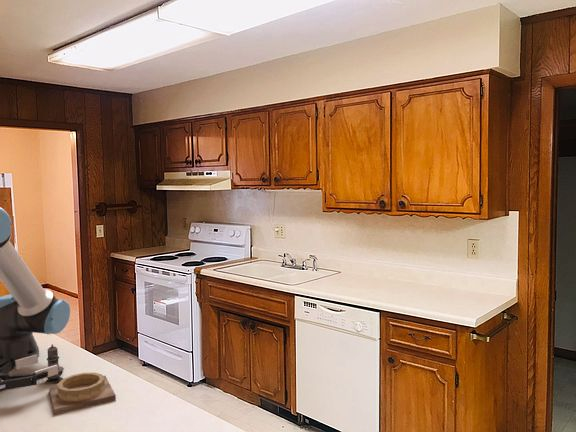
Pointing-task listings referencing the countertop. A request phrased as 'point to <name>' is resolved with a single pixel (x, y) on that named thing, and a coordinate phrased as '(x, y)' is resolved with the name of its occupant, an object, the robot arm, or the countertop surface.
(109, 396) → the collar stand
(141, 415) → the countertop surface
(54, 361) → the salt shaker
